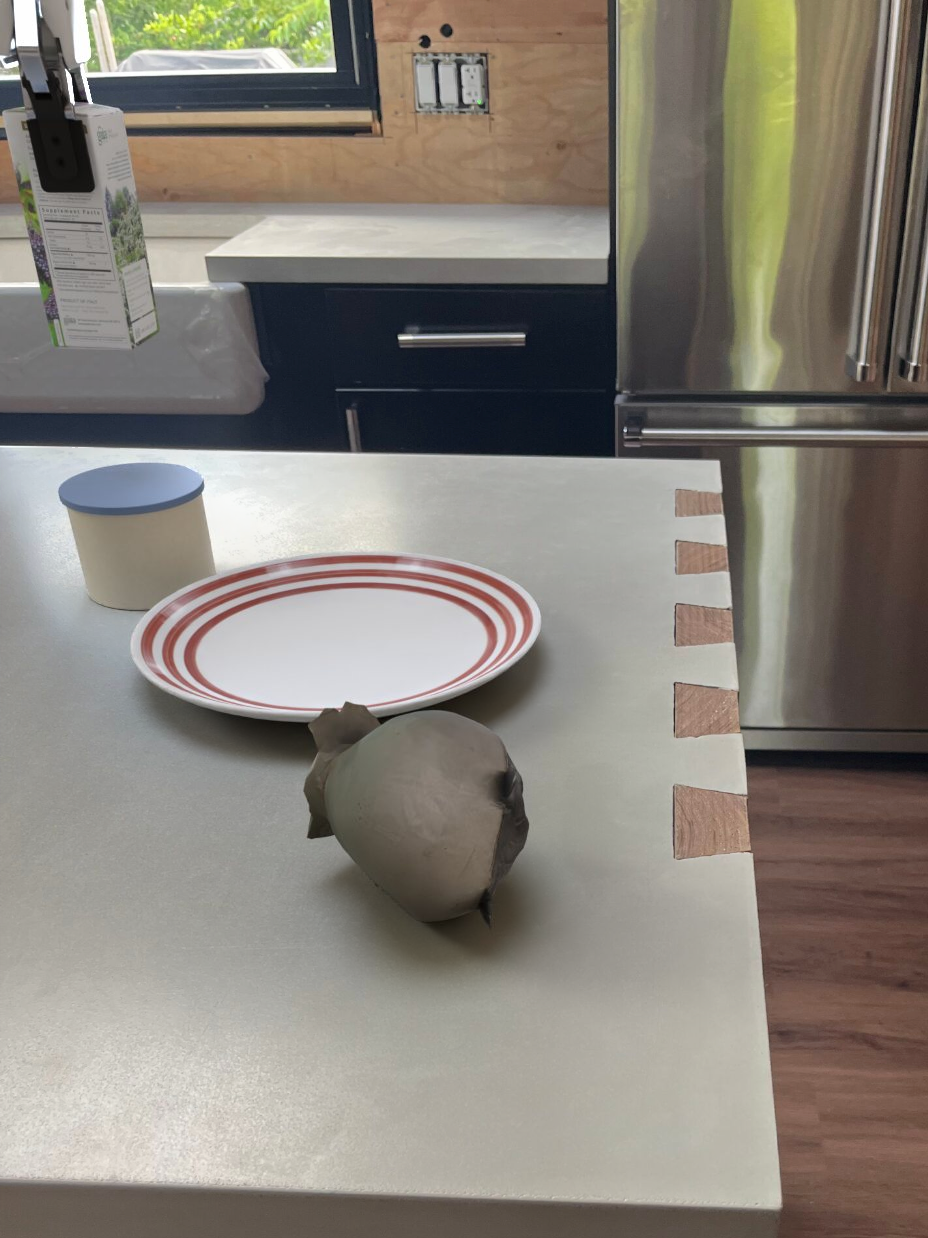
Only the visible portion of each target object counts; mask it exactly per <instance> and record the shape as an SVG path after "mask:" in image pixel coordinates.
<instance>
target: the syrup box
mask: <svg viewBox="0 0 928 1238" xmlns="http://www.w3.org/2000/svg"><path fill="white" fill-rule="evenodd" d="M91 103H92V102H91ZM91 103H81V102H74V105H75V112H76V120H82V122H83V127H84V132H85V137H86V142H87V147H88V152H89V157H90V162H91V167H92V172H93V177H94V182H95V189H94V190H93V191H92V192H90V193H47V192H45V191H44V190H43V189H42V188H41V184H40V180H39V176H38V171H37V167H36V162H35V158H34V153H33V149H32V144H31V140H30V135H29V131H28V127H27V122H26V120H27V119H28V118H27V115H26V111H25V106H21V107H14V108H8V109H4V110H2V112H1V114H2V120H3V125H4V129H5V134H6V139H7V143H8V149H9V152H10V156H11V162H12V166H13V171H14V174H15V180H16V184H17V188H18V193H19V198H20V202H21V203H20V204H21V207H22V212H23V216H24V220H25V225H26V229H27V231H26V232H27V235H28V238H29V244H30V248H31V253H32V258H33V262H34V266H35V271H36V275H37V279H38V286H39V289H40V295H41V298H42V303H43V307H44V312H45V317H46V321H47V326H48V331H49V335H50V340H51V344H52V346H53V347H55V349H70V350H104V351H106V350H109V351H110V350H113V351H114V350H115V351H116V350H117V351H118V350H120V351H132V350H135V349H136V348H138V347H139V346H140V345H143V344H144V343H146V342H147V341H149V340H150V339H151V338H153V337H154V336H156V335H157V334H159V333H160V329H161V328H160V322H159V316H158V311H157V305H156V299H155V292H154V286H153V281H152V275H151V269H150V264H149V259H148V251H147V250H148V249H147V246H146V240H145V239H146V238H145V234H144V228H143V222H142V215H141V209H140V205H139V204H140V203H139V198H138V193H137V187H136V180H135V175H134V169H133V164H132V157H131V151H130V146H129V140H128V135H127V130H126V123H125V117H124V111H123V110H121V109H120V108H119V107H114V106H109V105H103V104H98V103H92V104H91Z"/></svg>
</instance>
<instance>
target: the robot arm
mask: <svg viewBox="0 0 928 1238" xmlns="http://www.w3.org/2000/svg"><path fill="white" fill-rule="evenodd" d="M86 17H87V16H86V12H85V5H84V0H0V68H2V69H11V68H14V67H18V72H19V79H20V85H21V92H22V98H23V105H24V106H23V107H25V111H26V115H27V118H28V119H27V120H26V122H27V127H28V131H29V135H30V140H31V144H32V149H33V153H34V158H35V162H36V167H37V171H38V176H39V180H40V184H41V188H42V189H43V190H44V191H45V192H47V193H90V192H92V191H93V190H94V189H95V182H94V177H93V172H92V167H91V162H90V157H89V152H88V147H87V142H86V137H85V132H84V127H83V122H82V120H76V112H75V105H74V102H81V103H91V104H93V102H92V97H91V93H90V89H89V85H88V81H87V78H86V73H85V70H84V66H83V65H84V64H85V63H87V62H88V61H89V59H91V46H90V38H89V31H88V24H87V19H86Z"/></svg>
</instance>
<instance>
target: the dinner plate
mask: <svg viewBox="0 0 928 1238" xmlns="http://www.w3.org/2000/svg"><path fill="white" fill-rule="evenodd" d="M541 627H542V614H541V611H540V607H539V605H538V603H537V602H536V600H535V599H534V598H533V596H532V595H531V594H530V593H529V592H528V591H527V590H526V589H524V588H523V587H522V586H521V585H519V584H518V583H517V582H515V581H513V580H511V579H509V578H508V577H506V576H505V575H503V574H500V573H498V572H495V571H493V570H491V569H488V568H485V567H482V566H479V565H476V564H473V563H471V562H470V563H469V562H466V561H462V560H459V559H453V558H449V557H445V556H438V555H433V554H423V553H414V552H405V551H404V552H403V551H402V552H401V551H384V550H383V551H381V550H380V551H379V550H375V551H374V550H360V551H359V550H358V551H355V550H353V551H351V550H350V551H349V550H348V551H332V552H319V553H311V554H310V553H309V554H301V555H300V554H299V555H295V556H289V557H283V558H276V559H275V558H274V559H271V560H265V561H261V562H257V563H252V564H248V565H244V566H240V567H236V568H232V569H230V570H225V571H223V572H219V573H216V575H213V576H210V577H208V578H205V579H202V580H200V581H197V582H195V583H193V584H190V585H188V586H186V587H184V588H182V589H180V590H178V591H176V592H175V593H173V594H171V595H170V596H168V597H166V598H165V599H163V600H162V601H160V602H159V603H158V604H156V605H155V606H154V607H153V608H152V609H148V611H147V612H146V613H145V614H144V615H143V616H142V617H141V619H140V620H139V621H138V623H137V624H136V626H135V628H134V629H133V631H132V634H131V637H130V642H129V651H130V656H131V659H132V662H133V664H134V666H135V667H136V669H137V670H138V671H139V672H140V673H141V675H142V676H143V677H144V678H145V679H146V680H148V681H149V682H150V683H151V684H152V685H154V686H156V687H157V688H158V689H159V690H162V691H163V692H166V693H168V694H169V695H171V696H173V697H175V698H178V699H180V700H182V701H185V702H188V703H190V704H193V705H195V706H198V707H202V708H205V709H209V710H213V711H216V712H219V713H224V714H229V715H233V716H240V717H247V718H251V719H256V720H257V719H258V720H267V721H276V722H290V723H291V722H293V723H310V722H312V721H313V720H314V719H316V718H317V717H319V715H320V714H321V712H322V711H323V710H324V708H335V709H337V710H338V711H341V709H342V707H343V705H344V703H345V701H347V702H351V703H353V704H360V705H365V706H366V707H367V709H368V711H369V712H370V713H371V714H372V715H373V716H376V718H377V719H378V718H384V717H388V716H393V715H399V714H403V713H408V712H411V711H416V710H419V709H424V708H427V707H430V706H433V705H437V704H439V703H443V702H446V701H448V700H451V699H454V698H456V697H459V696H461V695H464V694H466V693H469V692H470V691H472V690H474V689H477V688H479V687H481V686H483V685H484V684H486V683H488V682H490V681H492V680H494V679H496V678H497V677H499V676H500V675H501V674H503V673H505V672H506V671H507V670H509V669H510V668H512V667H513V666H514V665H515V664H516V663H517V662H519V661H520V660H521V659H522V658H523V657H525V655H526V654H527V653H528V652H529V651H530V650H531V649H532V647H533V646H534V645H535V643H536V641H537V640H538V638H539V635H540V632H541Z"/></svg>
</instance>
